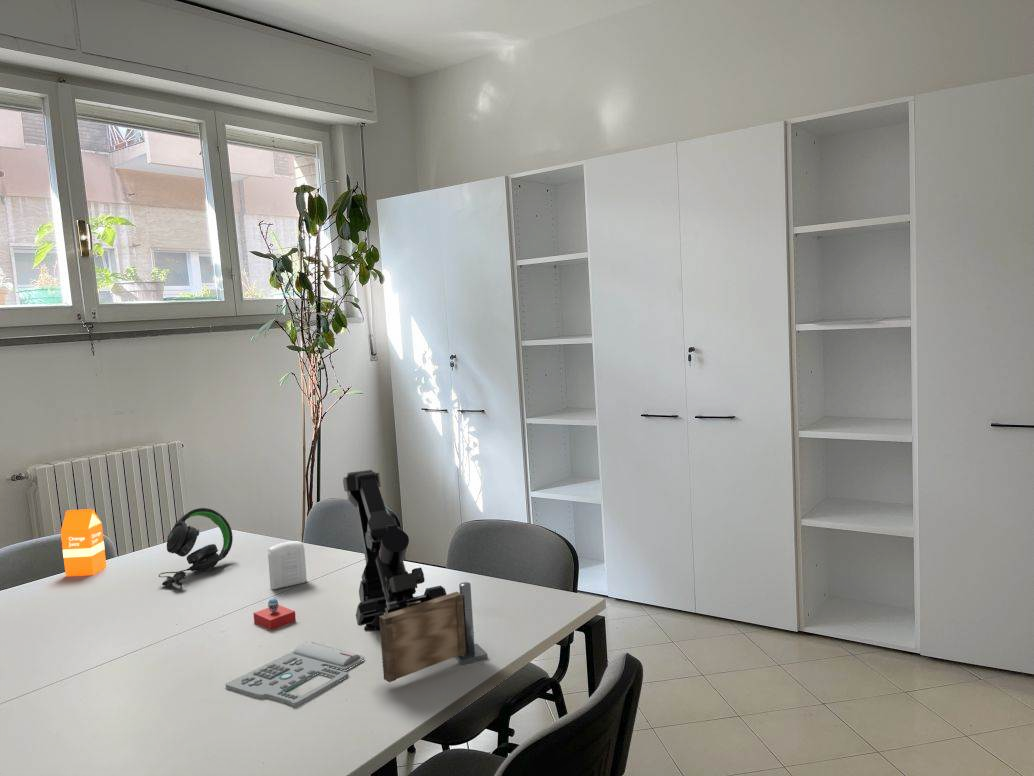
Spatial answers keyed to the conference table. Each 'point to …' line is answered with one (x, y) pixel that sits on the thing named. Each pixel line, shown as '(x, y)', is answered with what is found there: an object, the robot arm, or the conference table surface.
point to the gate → (422, 635)
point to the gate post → (469, 629)
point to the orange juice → (82, 543)
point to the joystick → (274, 616)
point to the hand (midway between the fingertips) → (412, 642)
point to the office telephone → (295, 673)
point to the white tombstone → (287, 564)
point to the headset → (185, 539)
